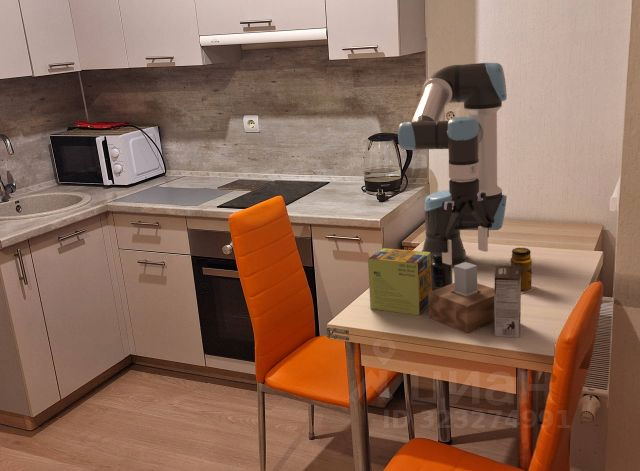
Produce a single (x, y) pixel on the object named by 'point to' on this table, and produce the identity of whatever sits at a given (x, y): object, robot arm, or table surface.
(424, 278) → the protein box
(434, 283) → the supplement bottle
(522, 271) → the condiment
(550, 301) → the table surface
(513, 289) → the coffee box
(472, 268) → the peg
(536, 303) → the table surface
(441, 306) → the block
